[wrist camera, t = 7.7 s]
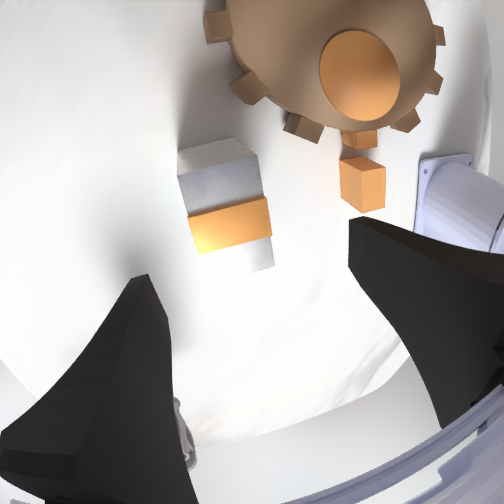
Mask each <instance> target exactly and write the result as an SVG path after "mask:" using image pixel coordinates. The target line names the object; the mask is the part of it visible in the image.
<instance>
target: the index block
mask: <svg viewBox="0 0 504 504" xmlns="http://www.w3.org/2000/svg"><path fill="white" fill-rule="evenodd" d="M339 165H340V182H341V198H342V199H344V200H345V201H346V202H348V203H349V204H350V205H352V206H353V207H354V208H356V209H357V210H358V211H360V212H361V213H366V212H369V211H373V210H377V209H381V208H385V191H386V167H384V166H382V165H380V164H378V163H376V162H374V161H371V160H369V159H367V158H365V157H362V156H360V157H354V158H349V159H343V160H339Z"/></svg>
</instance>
